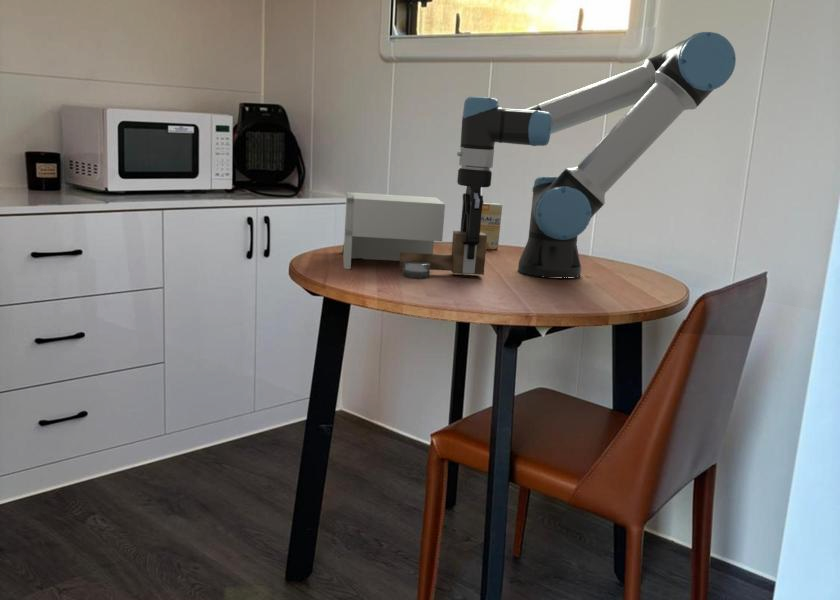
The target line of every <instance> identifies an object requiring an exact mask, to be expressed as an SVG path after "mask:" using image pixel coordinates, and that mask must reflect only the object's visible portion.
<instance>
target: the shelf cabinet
mask: <svg viewBox="0 0 840 600" xmlns="http://www.w3.org/2000/svg"><path fill="white" fill-rule="evenodd" d="M445 208H446V203H445V202H443V201H442V200H440V199H439V198H438V197H435V196H432V197H430V196H419V195H401V194H400V195H398V194H386V193H385V194H384V193H369V192H366V193H365V192H351V191H346V198H345V219H344V233H343V234H344V235H343V236H344V237H343V240H344V241H343V245H344V254H343V253H342V254H343V255H342V256H343V269H345V270H351V269H352V267H351V265H352V259H356V258H363V259H362V260H377V261H379V260H380V261H396V262H397V261H399V262H400V252H405V253H423V254H434V245H435V244H434V243H435V242H443V234H444V225H445V223H444V221H445V210H446V209H445Z"/></svg>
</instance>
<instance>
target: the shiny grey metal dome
mask: <svg viewBox="0 0 840 600" xmlns="http://www.w3.org/2000/svg"><path fill="white" fill-rule="evenodd" d="M430 271H431V270H430V263H428V262H423V261H404V262H403V268H402V277H405V278H408V279H417V280H423V279H429V278H430Z"/></svg>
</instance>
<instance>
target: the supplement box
mask: <svg viewBox="0 0 840 600" xmlns="http://www.w3.org/2000/svg"><path fill="white" fill-rule="evenodd" d="M502 211H503V204H502V203H494V202H493V203H492V202H483V206H482V214H481V226H480V232H483V233H485V234H486V235H487V242H486V250H494V249H496V251H498V250H499V241H500V232H501V231H500V230H501V223H502V222H501V220H502V215H503V214H502Z"/></svg>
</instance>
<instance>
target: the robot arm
mask: <svg viewBox="0 0 840 600" xmlns="http://www.w3.org/2000/svg"><path fill="white" fill-rule="evenodd" d="M736 59H737V58H736V52H735V49H734V46H733V45H732V43H731V42H730V40H729V39H727V37H725V36H724V35H722V34H720V33H718V32H712V31H700V32H698V33H694V34H693V35H690V37H688V38H686V39H684V40H681V41H680V42H678V43H677V44H675V45H673V46H672V47H670V48H668V49H667V50H665V51H664V52H661V53H660V54H657V55H655V56H652V57H650V58H647V59H645V61H644V63H643V65H640V66H638V67H635V68H632V69H630V70H628V71H625V72H622V73H619V74H617V75H614V76H611V77H609V78H605V79H603V80H601V81H598V82H596V83H593V84H589V85H587V86H585V87H582V88H580V89H576V90H574V91H571V92H568V93H566V94H563V95H560V96H558V97H554V98H552V99H550V100H546V101H544V102H540V103H539V104H536V105H533V106H530V107H528V108H525V109H518V108H517V109H516V108H504V107H499V106H500V105H499V100H498V99H497V98H495V97H494V98H493V97H486V96H485V97H484V96H469V97H467V98H465V100H464V104H463V112H462V116H461V119H462V120H461V121H462V122H461V131H460V132H461V133H460V149H459V151H457V152H456V155H457V157H459V159H458V161H459V162H458V165H459V166H461V167H460V168H459V169H458V170H457V179H456V180H457V181H456V182H457V185H459V186H464V187H466V190H465V192H464V193H462V206H461V207H462V210H461V219H460V220H461V221H460V230H459V231H465V232H466V242H465V241H463V244H465V245H464V257H463V269H462V273H471V274H470V275H476V274H475V262H476V251H477V244H479V241H480V240H479V237H480V226H481V214H482V206H483V203H484V195H482V193H481V192H482V189H481V188H490V187H491V185H492V184H491V183H492V174H493V173H492V171H491V169H492V168H493V167H494V166H493V165H494V164H493V163H494V155H495V154H494V153H495V150H494V149H495V143H498V144H512V145H520V146H521V145H523V146H524V145H525V146H532V147H538V146H539V147H541V146H542V147H545V146H547V145H548V144H549V142H550V140H551V135H552V134H556V133H558V132H560V131H563V130H566V129H569V128H572V127H575V126H577V125H580V124H583V123H585V122H589V121H591V120H594V119H597V118H600V117H603V116H605V115H606V116H607V115H608V114H611V113H614V112H617V111H620V110H622V109H625V108H628V107H630V106H632V107H631V108H630V109H629V110H628V111H627V112H626V113H625V114H624V116H623V117H622V118H621V119H620V120H618V122H617V123H616V124H615V125H614V127H612V128H611V130H609V132H608V133H607V134H606V135H605V136H604V137H603V138H602V139H601V141H599V142H598V143H597V144H596V146H594V148H593V149H592V150H591V151H590V152H589V153H588V154H587V155H586V156H585V157H584V158H583V159H582V161H580V162H579V164H578V165H576V167H567V168H564V170H563V171H562V172H561V173H560V174H559V176H539V177H536V178H535V180H534V184H533V186H532V198H531V211H530V220H529V230H528V240H527V242H526V243H525V246H524V249H523V251H522V252H521V253H522V254H521V256H520V258H519V260H518V268H517V271H518V272H520V273H522V274H525V275H528V274H529V276H533V275H535V276H534V277H538V276H544V277H543V278H546V277H562V278H564V277H565V278H566V277H567V278H568V277H577V276H580V277H581V274H582V273H581V272H582V264H581V260H580V254H579V250H578V236H579V235H581V234H582V233H584V232H585V230H586V229H587V227H588V226H589V225H590V222H591V219H592V218H593V217H594V216H595V214H597V213H598V212H599V211H600V209H601V208H602V207H604V205H605V204H606V202H605V200H606V199H605V195H606V193H607V192H608V191H610V189H611V188H612V187H613V186H614V185H615V184H616V183H617V182H618V180H620V179H621V178H622V176H623V175H624V174H625V173H626V172H627V171H628V170H629V169H630V168H631V167H632V166H633V165H634V163H635V162H637V160H639V158H640V157H641V156H642V155H643V154H644V153H645V152H646V151H647V150H648V149H649V148H650V147H651V146H652V145H653V144H654V143H655V142H656V141H657V140H658V139H659V138H660V136H661V135H662V134H663V133H664V132H665V131H666V130H667V129H668V128H669V127H670V126H671V125H672V123H674V122H675V121H676V120H677V118H678V117H680V115H681V114H682V113H684V111H690V110H695V109H697V107H699V106H700V105H701V104H702V103H703V101H705V99H706V98H707V97H709V95H710V94H711V93H712V92H714V90H717V89H719V88H720V87H723V86H724V85H725V84H726V82H728V80H729V79H730V78H731V76H732V75H733V72H734V70H735V67H736Z"/></svg>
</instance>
